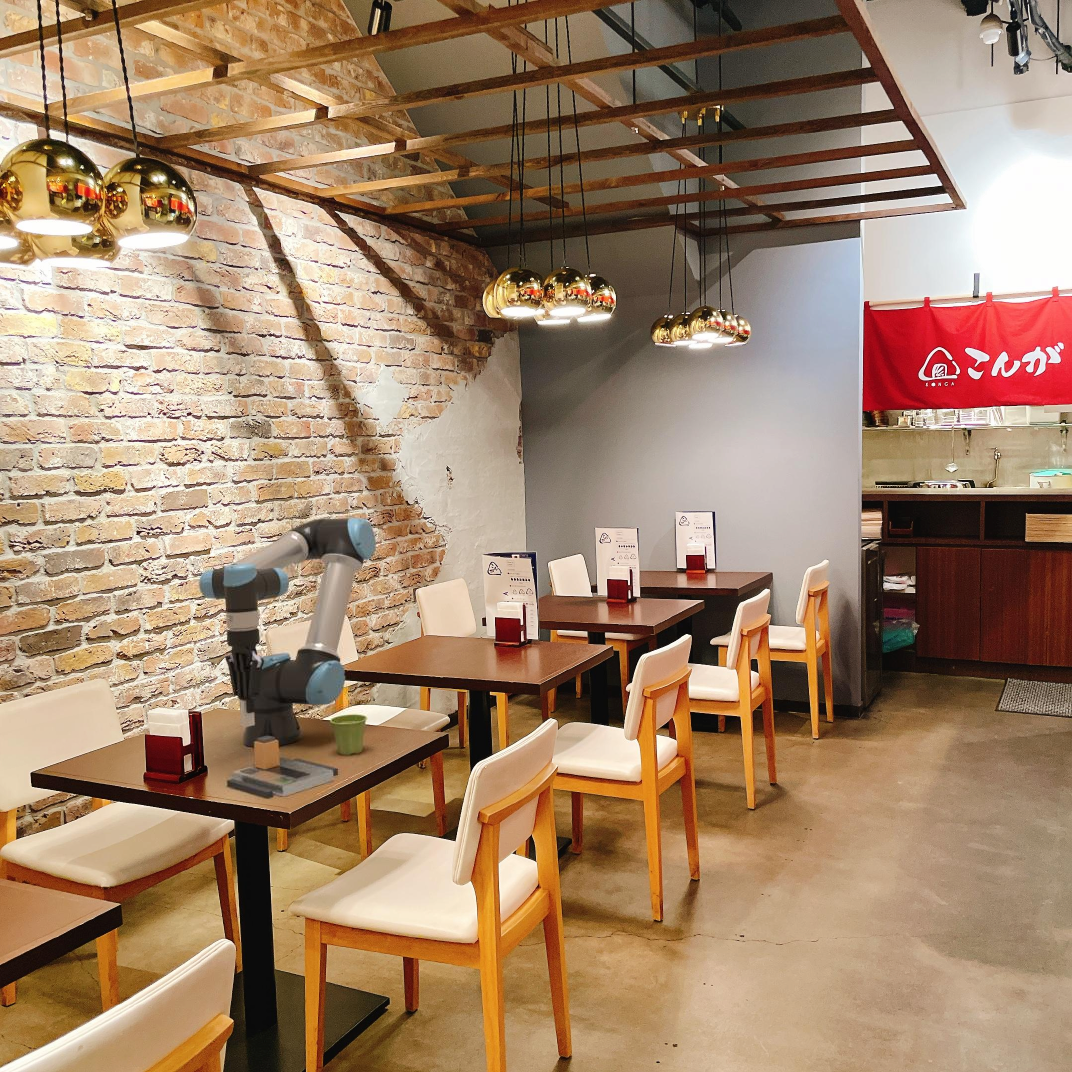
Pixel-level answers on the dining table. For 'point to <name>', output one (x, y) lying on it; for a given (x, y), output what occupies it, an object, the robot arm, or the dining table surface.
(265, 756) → the tan rectangular block
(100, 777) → the dining table surface
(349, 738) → the plant pot
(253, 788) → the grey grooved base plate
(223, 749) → the dining table surface
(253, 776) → the panel
